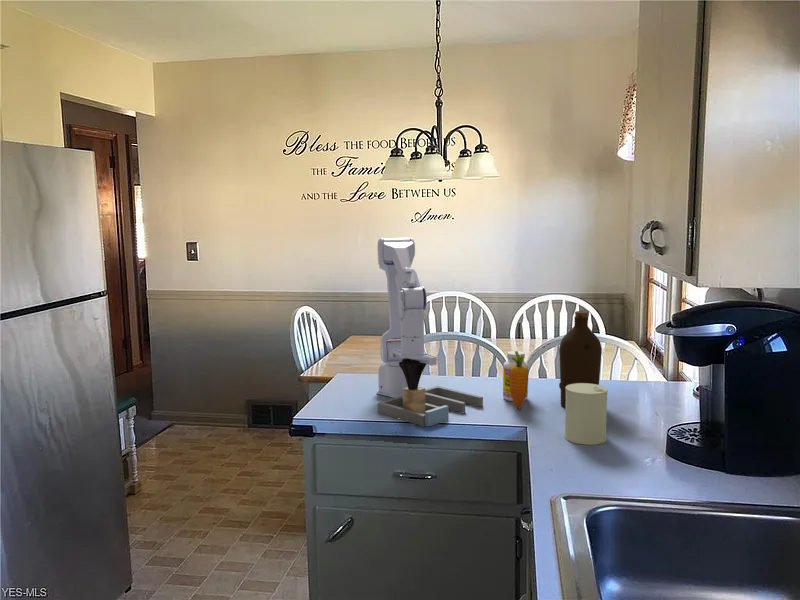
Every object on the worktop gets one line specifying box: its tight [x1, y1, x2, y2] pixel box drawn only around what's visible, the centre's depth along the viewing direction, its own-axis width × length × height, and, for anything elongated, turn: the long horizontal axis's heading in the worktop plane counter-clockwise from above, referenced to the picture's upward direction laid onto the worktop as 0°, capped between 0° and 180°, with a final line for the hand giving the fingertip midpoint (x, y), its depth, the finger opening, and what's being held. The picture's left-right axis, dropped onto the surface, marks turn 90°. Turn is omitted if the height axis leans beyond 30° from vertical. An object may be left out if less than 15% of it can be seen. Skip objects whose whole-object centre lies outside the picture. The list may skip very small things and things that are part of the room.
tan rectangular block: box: [403, 386, 426, 414], centre depth 166 cm, size 4×4×7 cm
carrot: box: [509, 350, 530, 410], centre depth 170 cm, size 5×5×15 cm
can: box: [563, 383, 609, 446], centre depth 147 cm, size 9×9×12 cm
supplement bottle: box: [502, 350, 529, 402], centre depth 179 cm, size 7×7×13 cm
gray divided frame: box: [377, 385, 484, 427], centre depth 171 cm, size 17×23×4 cm
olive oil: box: [558, 310, 603, 409], centre depth 171 cm, size 11×11×25 cm
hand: (412, 388), depth 165 cm, fingers closed, pressing on tan rectangular block
